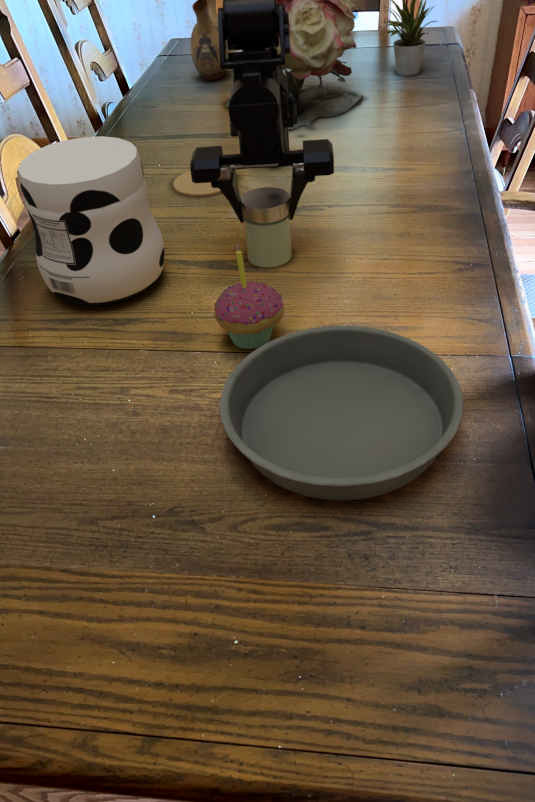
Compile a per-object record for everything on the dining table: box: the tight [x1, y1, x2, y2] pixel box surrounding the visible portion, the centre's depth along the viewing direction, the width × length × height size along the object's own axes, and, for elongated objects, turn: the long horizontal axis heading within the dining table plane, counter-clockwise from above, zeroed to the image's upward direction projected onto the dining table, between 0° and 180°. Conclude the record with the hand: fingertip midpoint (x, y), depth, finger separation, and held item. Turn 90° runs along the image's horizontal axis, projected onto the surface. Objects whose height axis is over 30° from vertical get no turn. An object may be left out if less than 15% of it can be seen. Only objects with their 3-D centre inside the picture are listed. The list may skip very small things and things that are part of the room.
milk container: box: [17, 135, 166, 306], centre depth 96 cm, size 17×17×18 cm
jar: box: [243, 214, 293, 268], centre depth 101 cm, size 6×6×8 cm
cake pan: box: [219, 325, 464, 501], centre depth 74 cm, size 25×25×4 cm
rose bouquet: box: [206, 0, 364, 130], centre depth 142 cm, size 26×29×30 cm
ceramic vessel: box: [189, 0, 231, 81], centre depth 162 cm, size 16×9×25 cm, turn 174°
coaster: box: [172, 170, 222, 197], centre depth 125 cm, size 11×11×1 cm
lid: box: [240, 186, 290, 223], centre depth 99 cm, size 7×7×2 cm
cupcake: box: [213, 244, 285, 350], centre depth 85 cm, size 9×8×12 cm
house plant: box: [377, 0, 439, 76], centre depth 159 cm, size 14×14×16 cm
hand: (267, 220), depth 100 cm, fingers closed on lid, 6 cm apart
